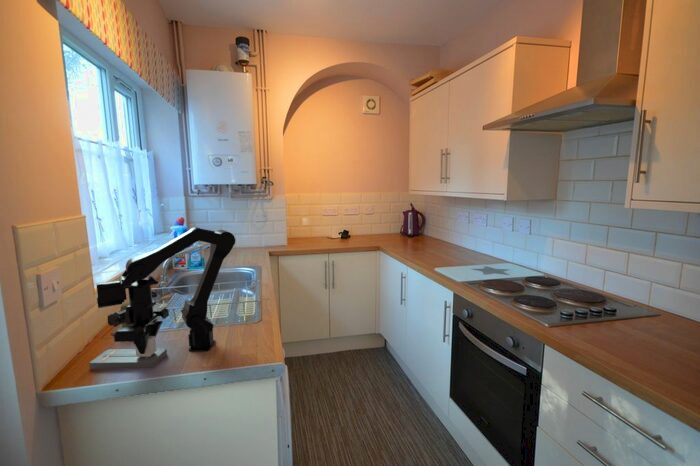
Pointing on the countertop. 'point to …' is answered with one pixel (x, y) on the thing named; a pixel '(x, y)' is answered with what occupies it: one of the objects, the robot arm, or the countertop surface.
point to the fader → (148, 348)
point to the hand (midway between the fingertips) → (146, 350)
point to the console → (126, 359)
